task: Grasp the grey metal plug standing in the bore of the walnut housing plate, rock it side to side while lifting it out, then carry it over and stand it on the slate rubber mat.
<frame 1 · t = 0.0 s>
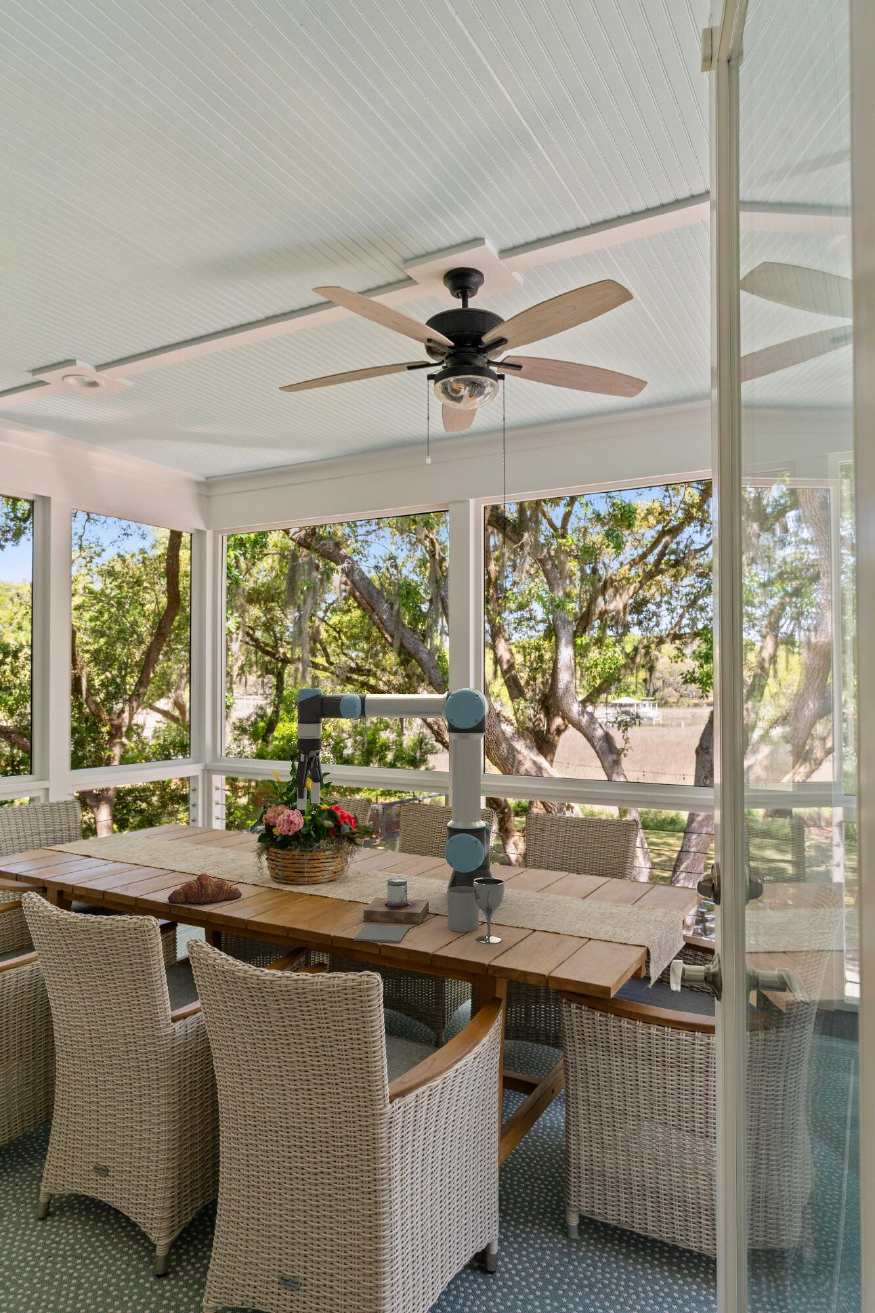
hand: (308, 806, 256), 28 cm above the table, fingers open, 13 cm apart
plug: (397, 897, 236), in the housing
mat: (382, 935, 217), on the table
pastry: (205, 901, 252), on the table
wine glass: (488, 940, 214), on the table
cup: (463, 928, 225), on the table
housing: (396, 915, 236), on the table
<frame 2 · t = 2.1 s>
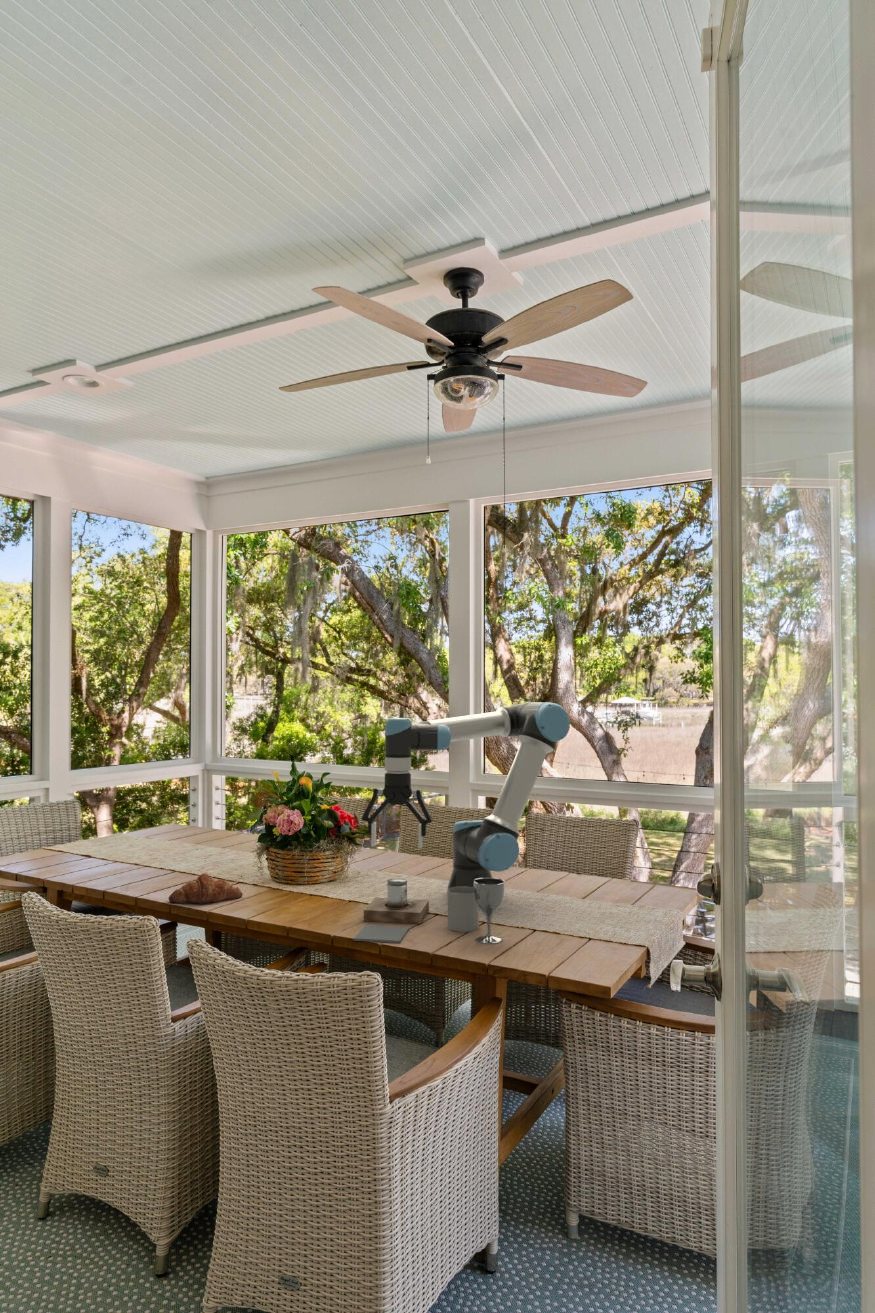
hand: (396, 846, 237), 19 cm above the table, fingers open, 13 cm apart
nothing on the table moved.
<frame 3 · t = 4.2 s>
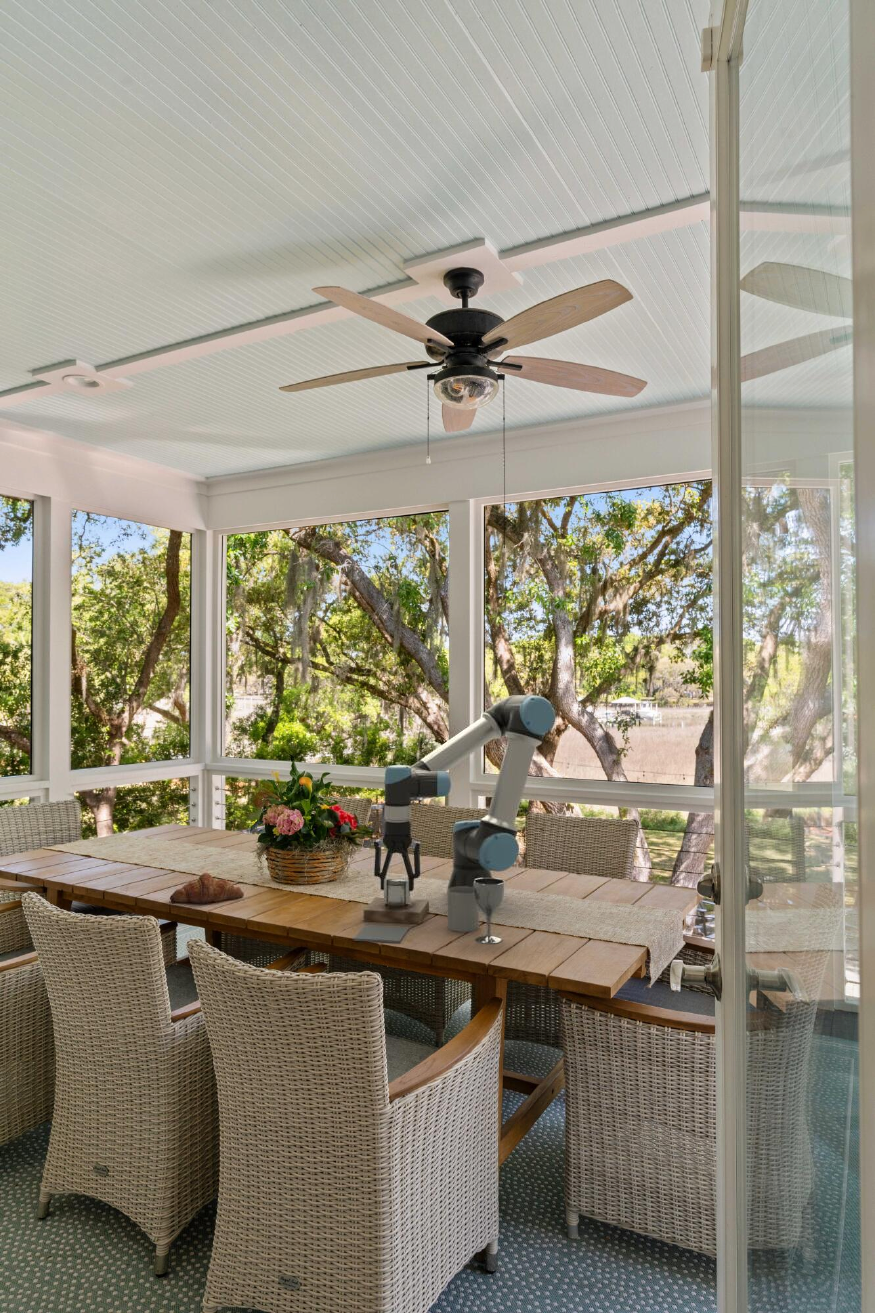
hand: (397, 901, 236), 4 cm above the table, fingers closed on plug, 6 cm apart
plug: (397, 897, 236), in the housing, touching gripper
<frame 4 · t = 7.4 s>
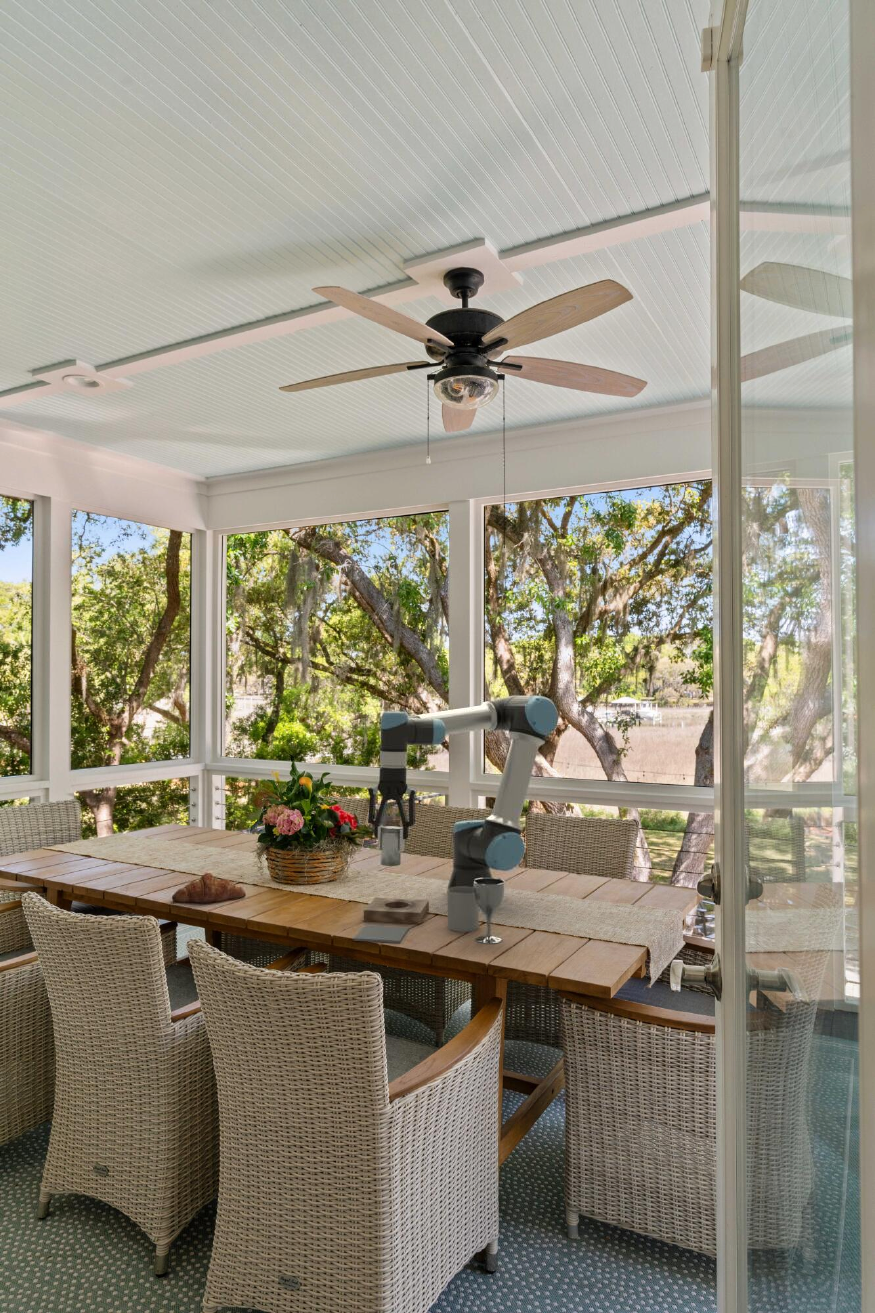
hand: (390, 850, 231), 20 cm above the table, fingers closed on plug, 6 cm apart
plug: (391, 845, 231), point 21 cm above the table, touching gripper
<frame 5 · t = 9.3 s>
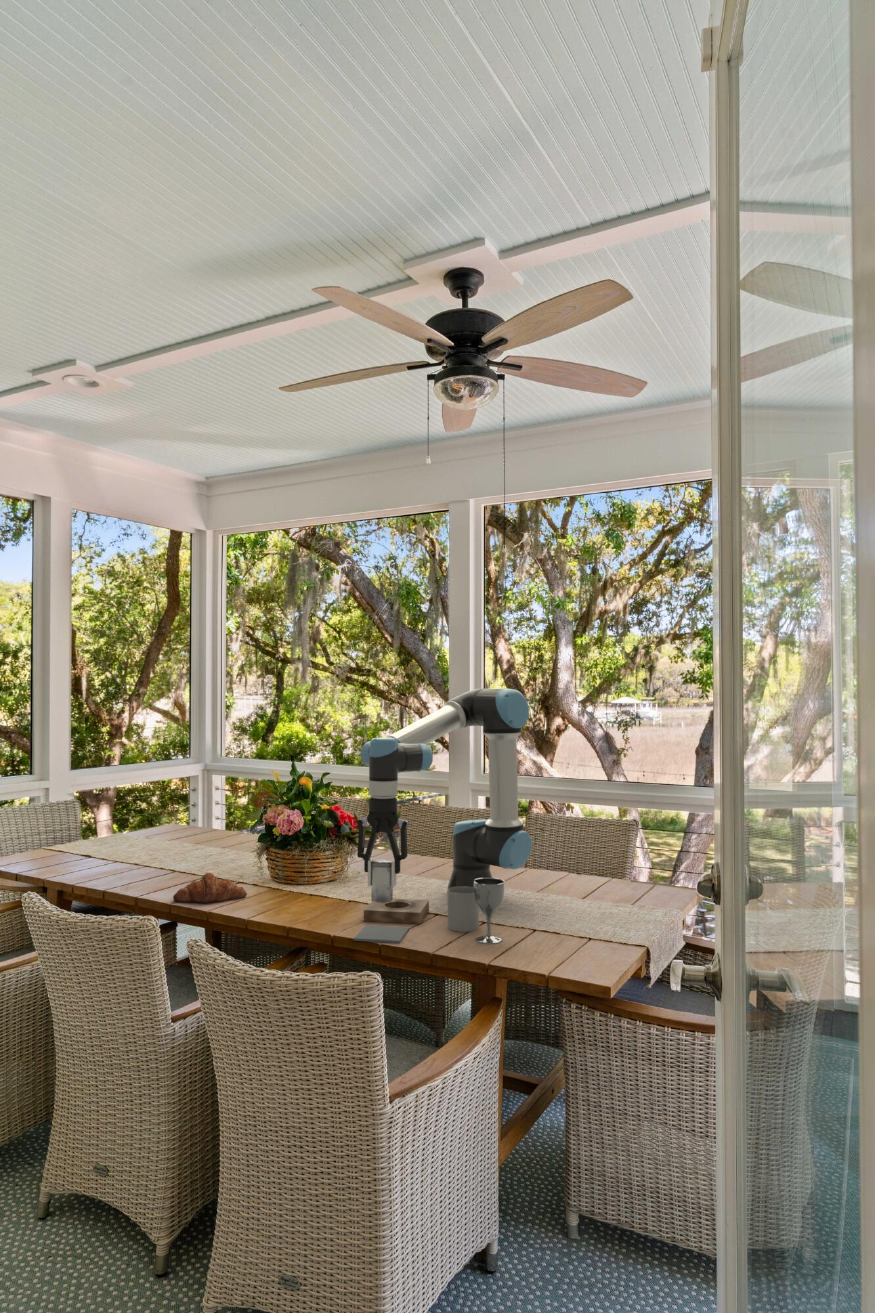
hand: (382, 885, 218), 13 cm above the table, fingers closed on plug, 6 cm apart
plug: (382, 880, 218), point 14 cm above the table, touching gripper
when the fingers open (6 cm above the table, at t = 10.9 s): plug drops 1 cm, resting on mat.
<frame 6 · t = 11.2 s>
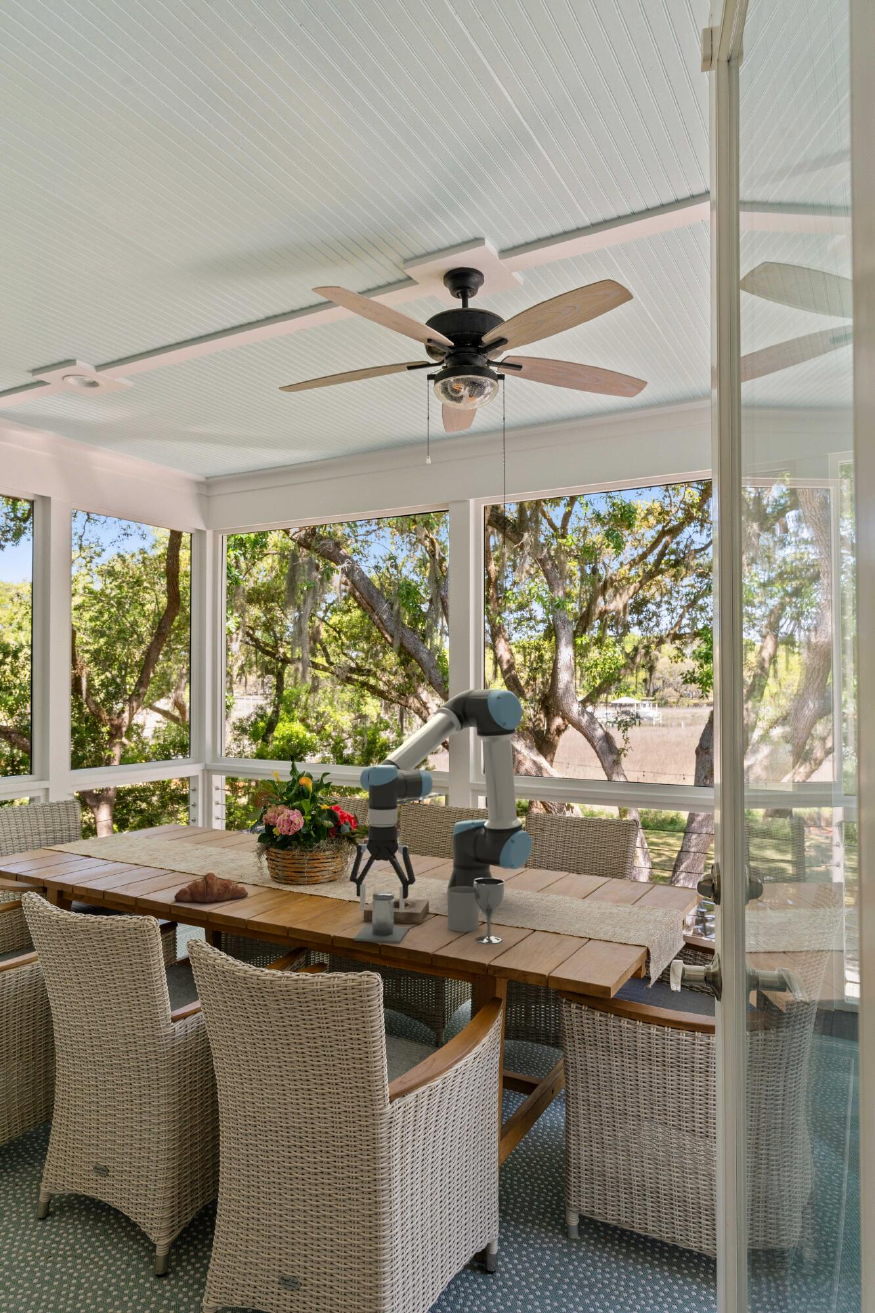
hand: (382, 910, 217), 6 cm above the table, fingers open, 10 cm apart
plug: (383, 913, 217), on the mat, point 6 cm above the table
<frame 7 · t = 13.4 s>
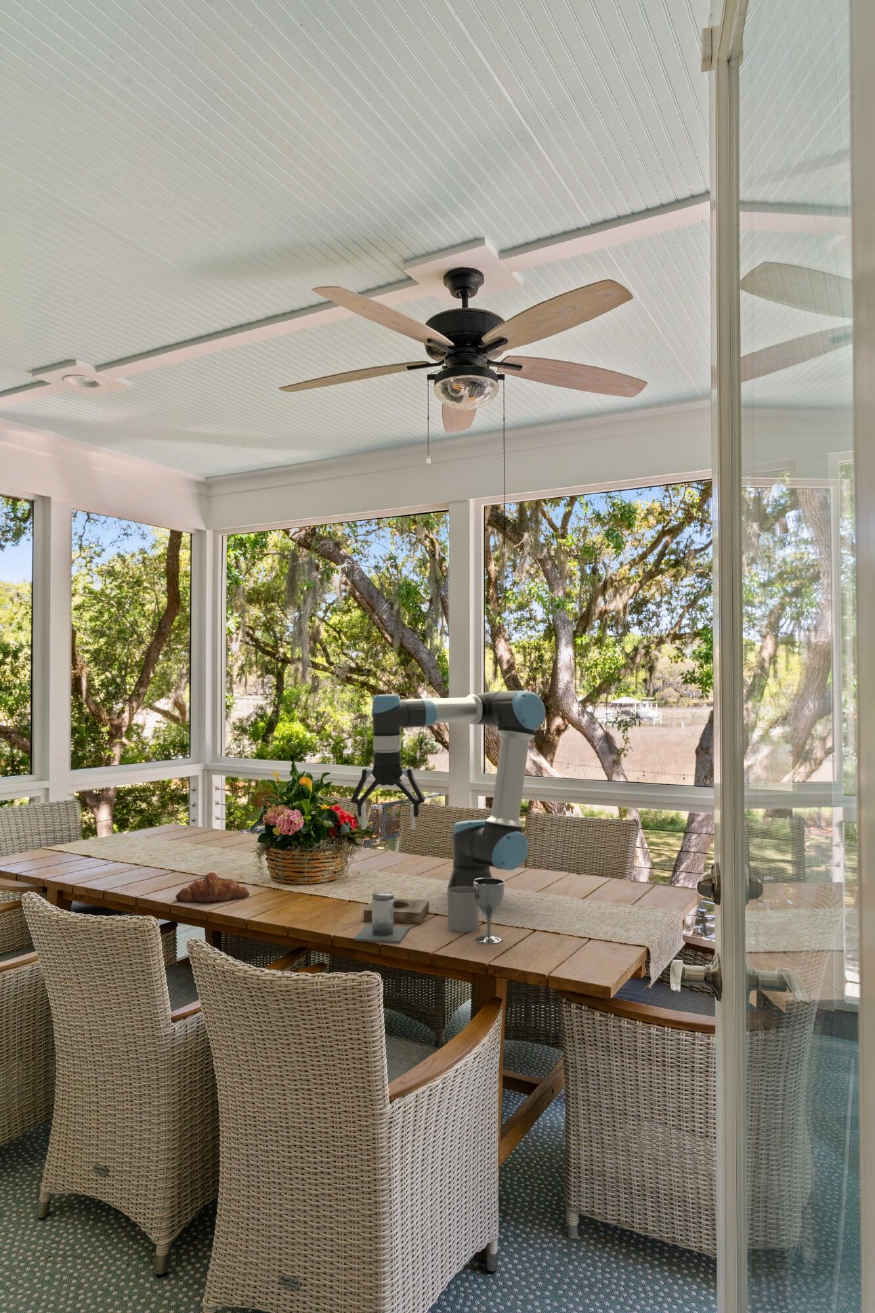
hand: (388, 829, 226), 26 cm above the table, fingers open, 13 cm apart
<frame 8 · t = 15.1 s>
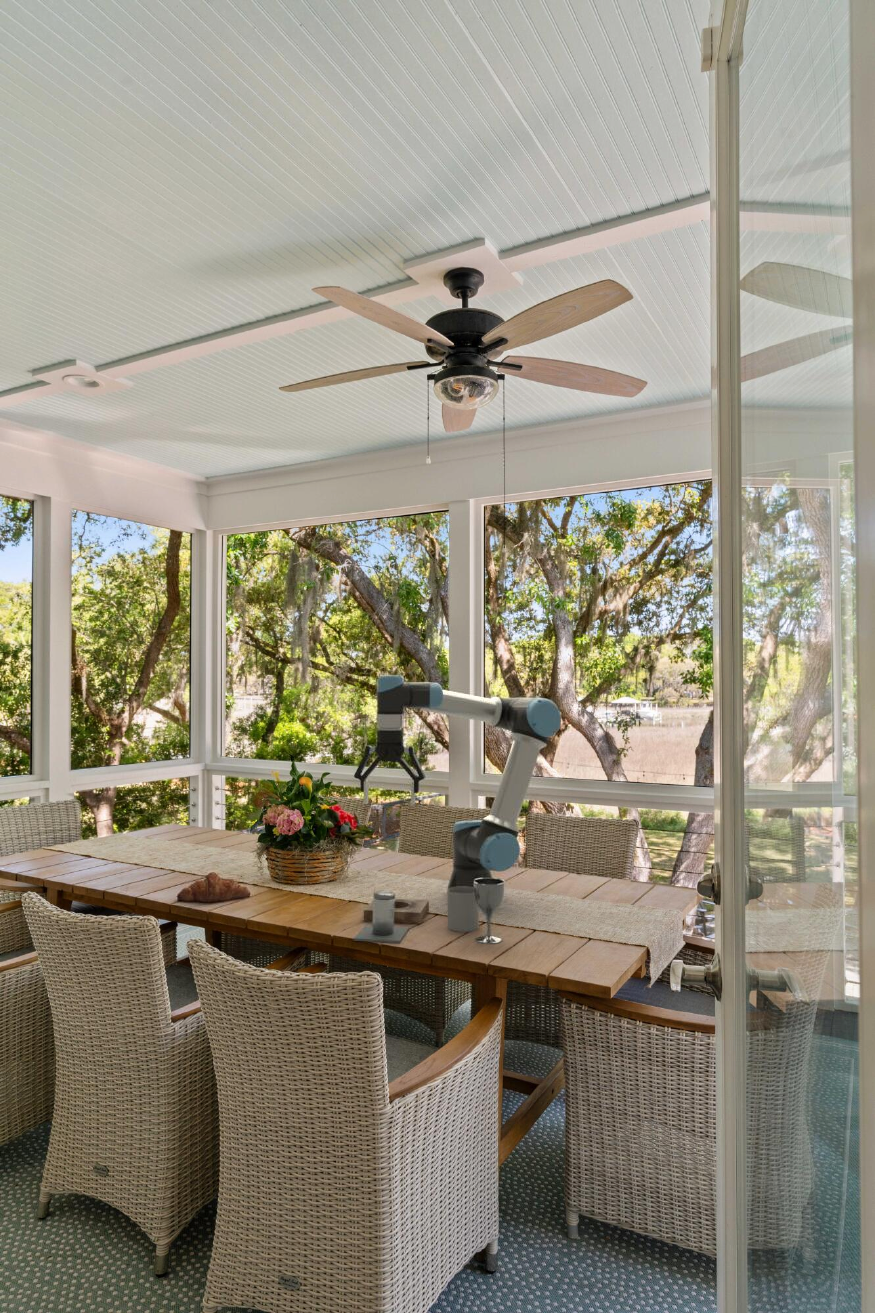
hand: (389, 804, 235), 32 cm above the table, fingers open, 13 cm apart
at the end: plug inside the target area on the mat (0.2 cm from its centre), point 5.7 cm above the mat's base; plug tilted 2°; the gripper is holding nothing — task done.
